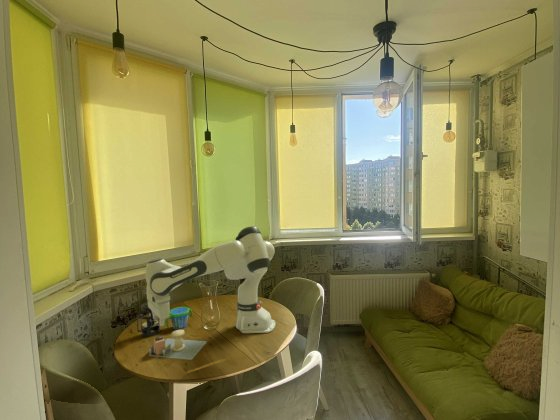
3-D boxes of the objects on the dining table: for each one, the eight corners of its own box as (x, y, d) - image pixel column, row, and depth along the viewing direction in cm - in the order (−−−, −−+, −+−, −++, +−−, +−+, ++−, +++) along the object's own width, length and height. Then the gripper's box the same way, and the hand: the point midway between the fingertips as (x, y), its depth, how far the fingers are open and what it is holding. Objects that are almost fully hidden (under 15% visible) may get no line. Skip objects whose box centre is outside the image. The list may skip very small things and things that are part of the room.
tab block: (163, 348, 137) (162, 334, 136) (165, 352, 134) (164, 337, 133) (154, 351, 134) (153, 336, 134) (156, 355, 131) (155, 340, 131)
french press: (163, 329, 159) (161, 289, 158) (160, 337, 150) (158, 295, 149) (140, 332, 157) (138, 291, 155) (136, 341, 147) (133, 297, 146)
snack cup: (170, 336, 152) (169, 317, 151) (162, 329, 160) (161, 311, 159) (197, 326, 162) (196, 308, 162) (188, 320, 170) (188, 303, 170)
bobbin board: (207, 343, 143) (206, 326, 143) (191, 362, 127) (191, 343, 127) (167, 340, 147) (166, 323, 147) (148, 358, 131) (147, 339, 131)
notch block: (170, 350, 136) (170, 344, 136) (164, 356, 131) (164, 349, 131) (155, 348, 137) (155, 342, 137) (149, 354, 132) (148, 348, 132)
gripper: (143, 289, 139) (145, 317, 140) (156, 301, 123) (158, 332, 124) (156, 286, 143) (158, 313, 144) (171, 297, 127) (173, 327, 128)
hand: (158, 322), depth 134 cm, fingers open, 8 cm apart
